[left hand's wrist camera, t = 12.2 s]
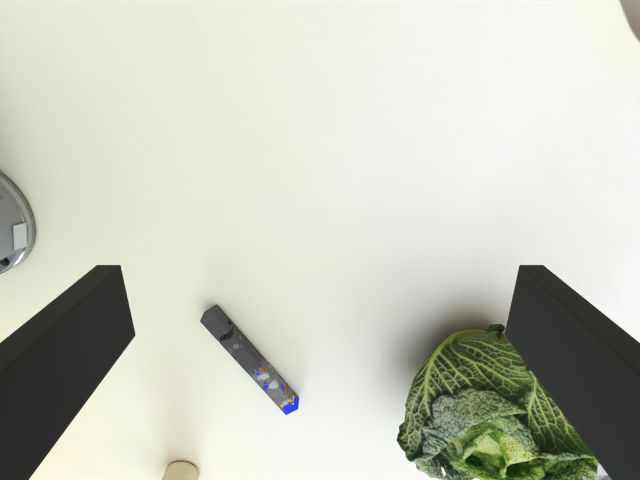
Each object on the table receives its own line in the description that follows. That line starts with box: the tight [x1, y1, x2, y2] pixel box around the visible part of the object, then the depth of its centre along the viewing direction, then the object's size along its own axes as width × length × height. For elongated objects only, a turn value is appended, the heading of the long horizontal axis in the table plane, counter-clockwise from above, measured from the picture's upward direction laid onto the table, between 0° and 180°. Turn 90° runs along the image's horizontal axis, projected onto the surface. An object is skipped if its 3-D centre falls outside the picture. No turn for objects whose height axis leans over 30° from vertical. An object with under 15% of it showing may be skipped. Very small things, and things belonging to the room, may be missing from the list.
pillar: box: [200, 305, 299, 415], centre depth 55 cm, size 2×2×20 cm
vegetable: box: [397, 324, 599, 480], centre depth 48 cm, size 20×19×20 cm
